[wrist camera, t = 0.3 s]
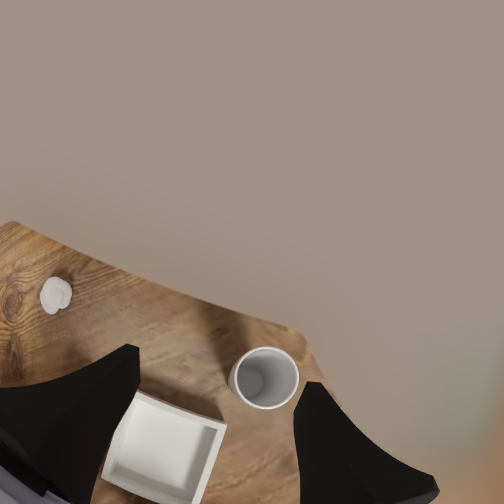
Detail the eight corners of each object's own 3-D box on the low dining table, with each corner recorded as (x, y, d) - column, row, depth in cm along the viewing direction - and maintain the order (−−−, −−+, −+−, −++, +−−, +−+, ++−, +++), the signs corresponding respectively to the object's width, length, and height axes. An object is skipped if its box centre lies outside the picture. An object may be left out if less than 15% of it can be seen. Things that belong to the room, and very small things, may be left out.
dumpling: (66, 278, 40) (57, 268, 36) (80, 297, 39) (71, 289, 35) (41, 303, 36) (30, 295, 33) (54, 324, 35) (43, 317, 32)
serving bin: (195, 504, 26) (195, 514, 22) (109, 471, 26) (100, 477, 22) (224, 421, 34) (227, 425, 30) (136, 388, 34) (129, 388, 30)
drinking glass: (213, 377, 37) (219, 370, 24) (249, 352, 40) (272, 332, 27) (240, 411, 35) (261, 423, 22) (275, 385, 38) (312, 381, 25)
